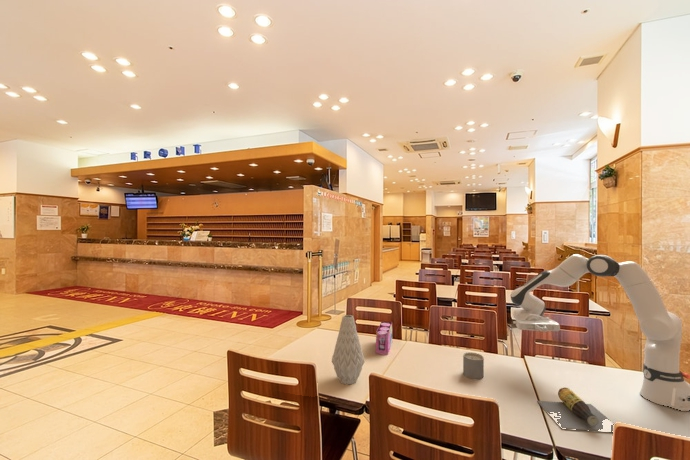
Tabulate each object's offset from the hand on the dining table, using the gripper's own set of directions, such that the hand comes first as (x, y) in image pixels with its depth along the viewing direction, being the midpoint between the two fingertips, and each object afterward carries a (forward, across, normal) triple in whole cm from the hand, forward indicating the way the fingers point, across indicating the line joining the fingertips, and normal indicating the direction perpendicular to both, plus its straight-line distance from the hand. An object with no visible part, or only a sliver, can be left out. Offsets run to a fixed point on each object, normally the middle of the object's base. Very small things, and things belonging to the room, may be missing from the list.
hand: (544, 330), depth 156 cm
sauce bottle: (+18, -1, +22) cm, 29 cm away
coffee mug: (-5, -33, +26) cm, 42 cm away
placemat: (+30, -2, +26) cm, 39 cm away
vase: (+10, -99, +26) cm, 103 cm away
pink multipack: (-36, -80, +27) cm, 92 cm away
